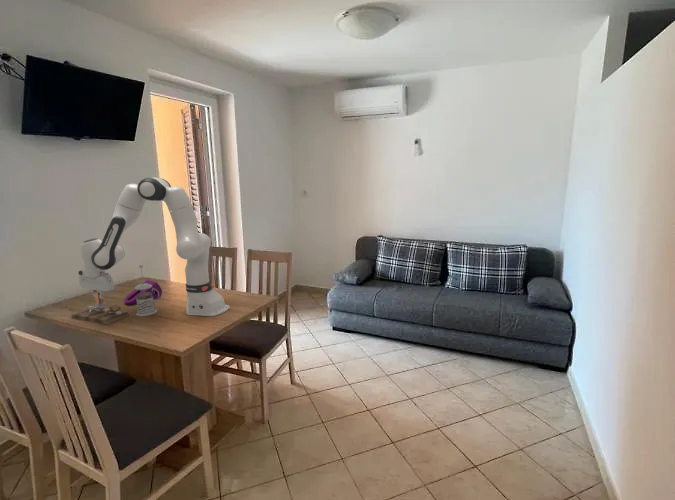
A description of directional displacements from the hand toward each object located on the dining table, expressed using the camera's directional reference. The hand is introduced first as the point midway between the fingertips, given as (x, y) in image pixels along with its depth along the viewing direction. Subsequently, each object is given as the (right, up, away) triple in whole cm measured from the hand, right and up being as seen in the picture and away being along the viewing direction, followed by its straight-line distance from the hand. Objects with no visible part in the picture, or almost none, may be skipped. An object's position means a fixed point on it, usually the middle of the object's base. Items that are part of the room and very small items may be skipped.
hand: (99, 298), depth 191 cm
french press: (+23, -8, +4) cm, 25 cm away
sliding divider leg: (-1, -7, -1) cm, 7 cm away
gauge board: (+1, -9, -1) cm, 9 cm away
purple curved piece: (+10, -5, +23) cm, 25 cm away
